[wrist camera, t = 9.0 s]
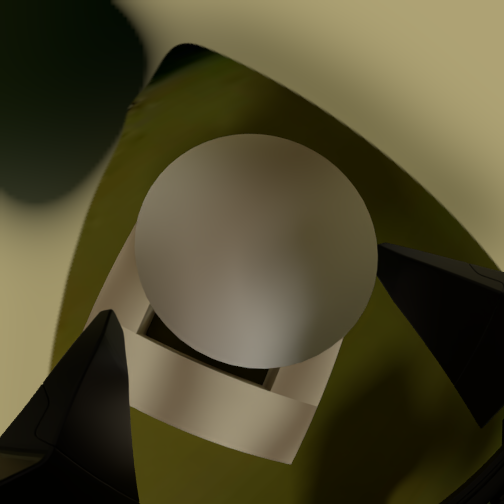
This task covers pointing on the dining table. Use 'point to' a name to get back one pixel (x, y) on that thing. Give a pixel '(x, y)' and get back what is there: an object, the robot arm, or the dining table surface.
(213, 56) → the dining table surface
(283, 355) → the bobbin
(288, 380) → the notched board
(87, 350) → the robot arm
